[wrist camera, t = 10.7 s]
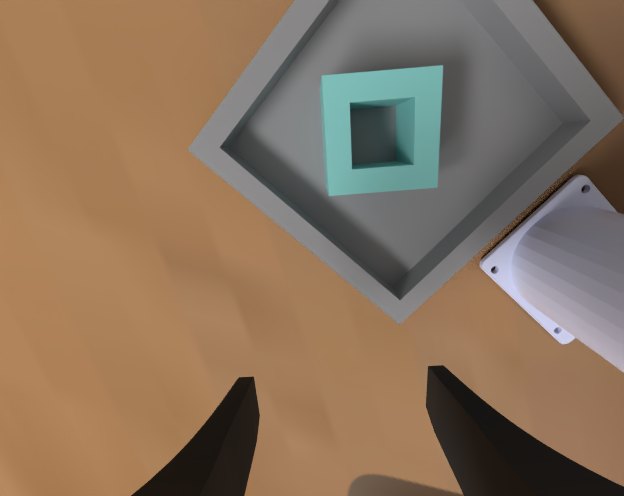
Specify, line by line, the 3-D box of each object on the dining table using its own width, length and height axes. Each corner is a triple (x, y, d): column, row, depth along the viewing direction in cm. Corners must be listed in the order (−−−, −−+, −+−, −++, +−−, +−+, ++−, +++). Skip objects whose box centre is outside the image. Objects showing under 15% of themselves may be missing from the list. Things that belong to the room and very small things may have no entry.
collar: (417, 80, 17) (443, 65, 14) (415, 180, 19) (437, 187, 16) (319, 88, 18) (321, 75, 14) (325, 187, 19) (329, 196, 16)
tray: (584, 121, 19) (624, 118, 16) (390, 305, 22) (399, 324, 20) (393, -112, 15) (409, -159, 13) (202, 149, 19) (187, 149, 17)
